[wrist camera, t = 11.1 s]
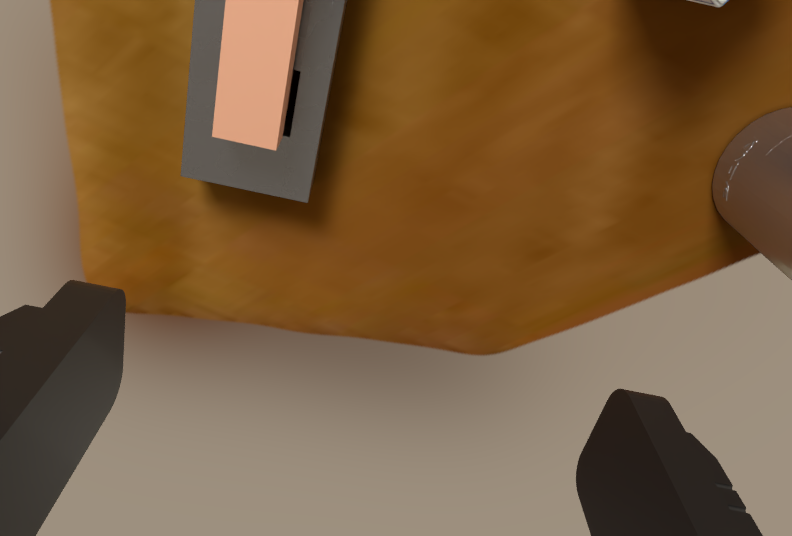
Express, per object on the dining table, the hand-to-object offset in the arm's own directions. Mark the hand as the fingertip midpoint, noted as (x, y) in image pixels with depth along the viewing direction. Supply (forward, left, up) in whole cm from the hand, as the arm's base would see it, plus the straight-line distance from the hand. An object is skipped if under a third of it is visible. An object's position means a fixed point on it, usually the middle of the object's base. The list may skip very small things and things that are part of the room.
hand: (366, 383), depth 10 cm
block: (+7, -1, -33) cm, 34 cm away
